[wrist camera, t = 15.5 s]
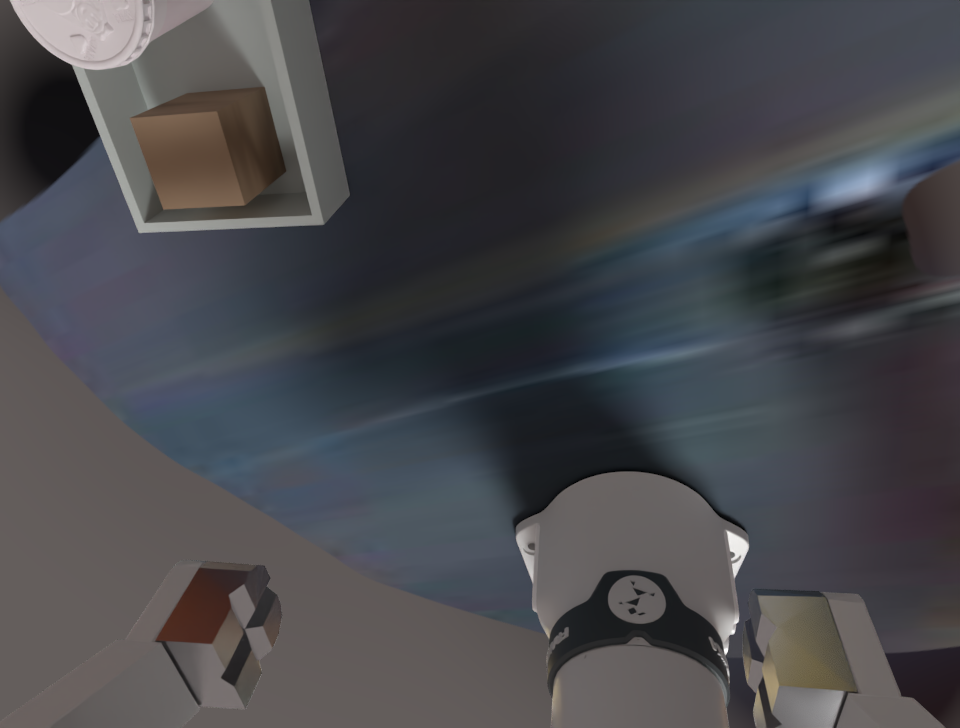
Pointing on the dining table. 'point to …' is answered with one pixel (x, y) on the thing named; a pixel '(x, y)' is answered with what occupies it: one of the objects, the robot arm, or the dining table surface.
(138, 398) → the dining table surface
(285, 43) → the crate
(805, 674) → the robot arm
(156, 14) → the smoothie
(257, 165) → the walnut block
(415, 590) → the dining table surface
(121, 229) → the dining table surface
